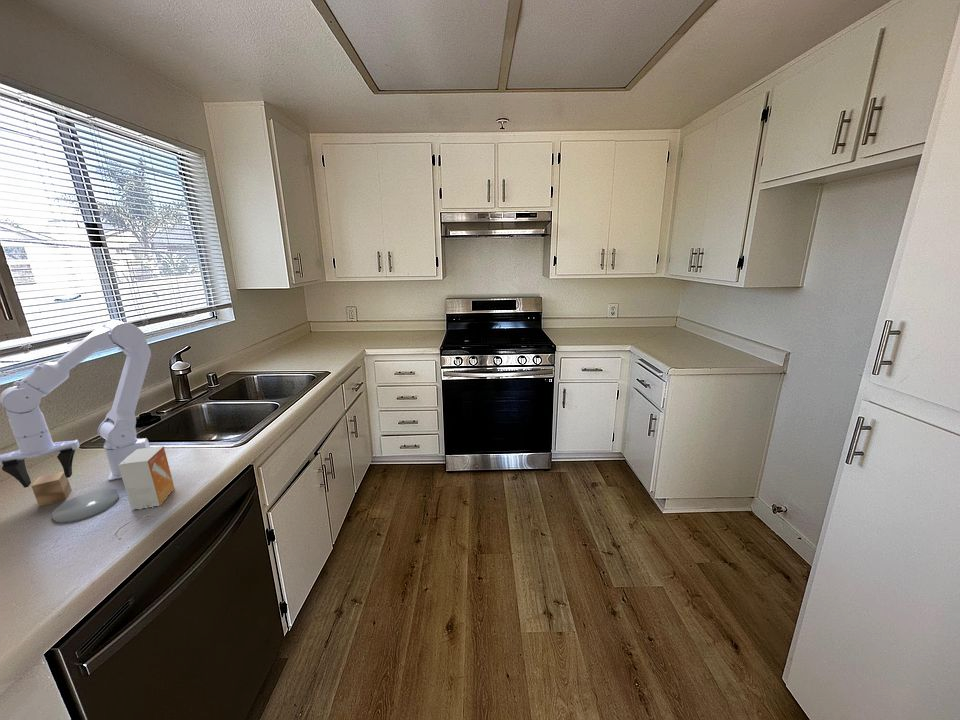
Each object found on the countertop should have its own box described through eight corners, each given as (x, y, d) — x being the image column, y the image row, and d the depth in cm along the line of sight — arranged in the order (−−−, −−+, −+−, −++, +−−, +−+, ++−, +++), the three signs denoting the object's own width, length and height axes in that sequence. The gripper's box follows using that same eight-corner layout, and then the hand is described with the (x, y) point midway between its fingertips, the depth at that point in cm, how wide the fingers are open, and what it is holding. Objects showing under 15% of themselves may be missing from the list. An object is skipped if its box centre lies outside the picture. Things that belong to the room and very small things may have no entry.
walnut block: (71, 490, 107) (64, 470, 105) (66, 499, 103) (59, 479, 101) (45, 496, 104) (38, 476, 102) (39, 506, 100) (31, 486, 98)
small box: (160, 506, 99) (147, 461, 95) (131, 511, 97) (116, 464, 94) (175, 488, 107) (164, 445, 103) (148, 492, 105) (135, 448, 101)
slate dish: (122, 487, 107) (121, 484, 107) (113, 510, 98) (112, 507, 98) (61, 502, 101) (60, 499, 101) (45, 529, 92) (44, 525, 91)
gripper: (-20, 447, 91) (1, 498, 95) (67, 431, 99) (82, 478, 102) (-6, 435, 97) (13, 484, 101) (75, 421, 104) (89, 466, 108)
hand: (49, 480), depth 102 cm, fingers open, 7 cm apart
